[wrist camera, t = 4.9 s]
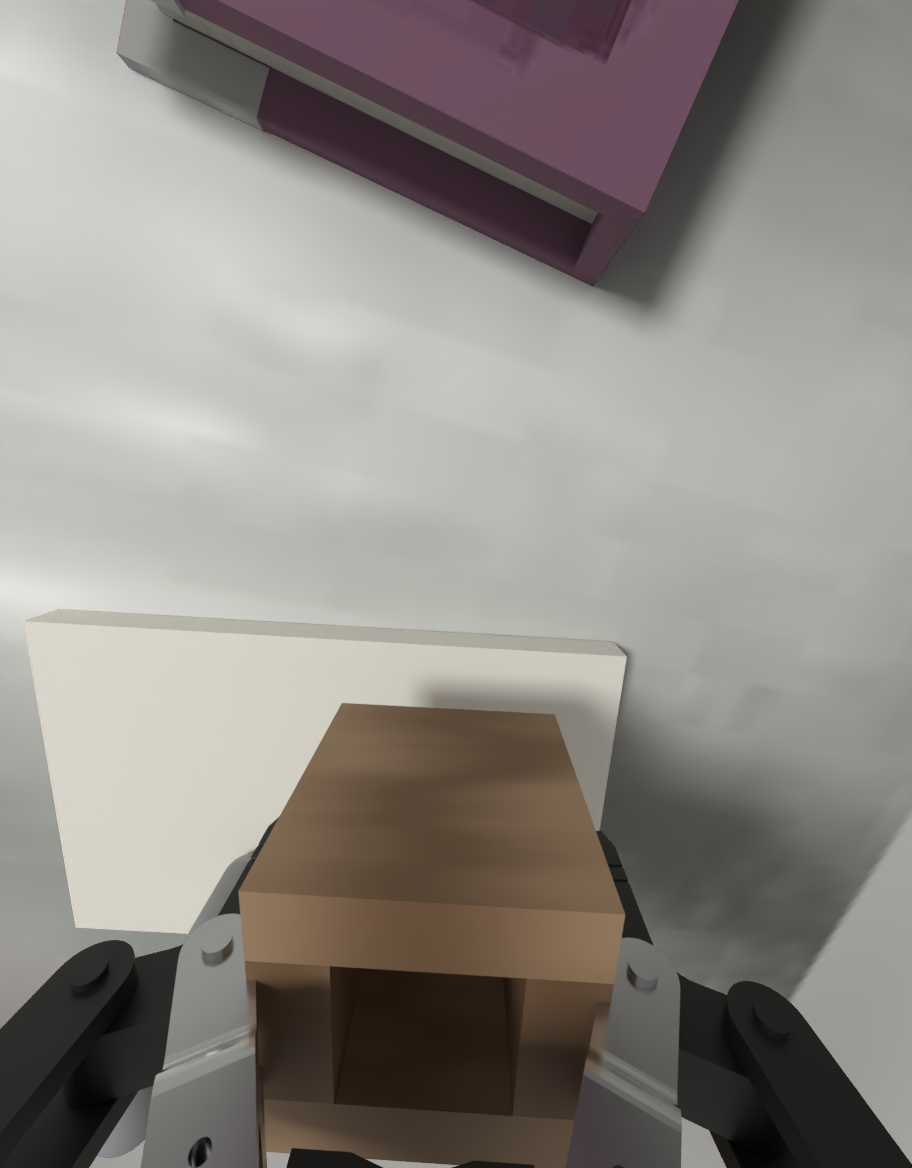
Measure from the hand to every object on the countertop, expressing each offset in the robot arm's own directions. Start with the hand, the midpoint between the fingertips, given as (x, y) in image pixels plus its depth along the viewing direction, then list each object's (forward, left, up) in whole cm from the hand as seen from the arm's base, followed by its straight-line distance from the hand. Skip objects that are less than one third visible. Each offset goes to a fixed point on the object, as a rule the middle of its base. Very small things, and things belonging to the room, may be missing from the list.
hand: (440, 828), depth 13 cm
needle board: (+5, +4, -7) cm, 9 cm away
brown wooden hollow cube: (0, 0, -1) cm, 1 cm away
